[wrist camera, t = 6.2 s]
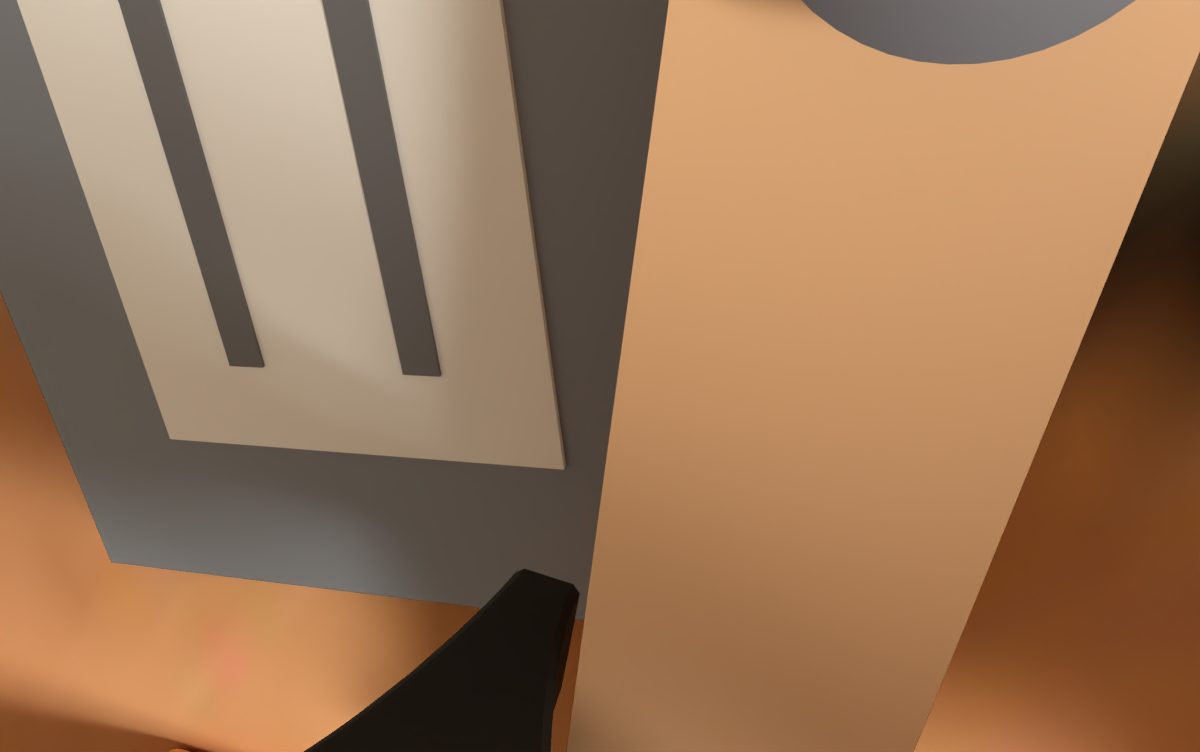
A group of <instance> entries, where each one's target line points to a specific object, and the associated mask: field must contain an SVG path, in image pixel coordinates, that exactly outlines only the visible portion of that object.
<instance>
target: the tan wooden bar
mask: <svg viewBox="0 0 1200 752" xmlns="http://www.w3.org/2000/svg"><path fill="white" fill-rule="evenodd" d="M1199 52H1200V0H669V4H668V12H667V19H666V26H665V34H664V41H663V48H662V56H661V63H660V70H659V77H658V85H657V92H656V99H655V107H654V114H653V121H652V129H651V136H650V143H649V151H648V158H647V165H646V173H645V180H644V187H643V195H642V202H641V209H640V217H639V224H638V231H637V239H636V246H635V253H634V260H633V268H632V275H631V282H630V290H629V297H628V304H627V312H626V319H625V326H624V334H623V341H622V348H621V356H620V363H619V370H618V378H617V385H616V392H615V400H614V407H613V414H612V421H611V429H610V436H609V443H608V451H607V458H606V465H605V473H604V480H603V487H602V495H601V502H600V509H599V517H598V524H597V531H596V539H595V546H594V553H593V561H592V568H591V575H590V583H589V590H588V597H587V604H586V612H585V619H584V626H583V634H582V641H581V648H580V656H579V663H578V670H577V678H576V685H575V692H574V700H573V707H572V714H571V722H570V729H569V736H568V744H567V751H566V752H914V750H915V747H916V745H917V742H918V740H919V737H920V735H921V732H922V730H923V728H924V725H925V723H926V720H927V718H928V715H929V713H930V710H931V708H932V706H933V703H934V701H935V698H936V696H937V693H938V691H939V688H940V686H941V683H942V681H943V679H944V676H945V674H946V671H947V669H948V666H949V664H950V661H951V659H952V657H953V654H954V652H955V649H956V647H957V644H958V642H959V639H960V637H961V635H962V632H963V630H964V627H965V625H966V622H967V620H968V617H969V615H970V613H971V610H972V608H973V605H974V603H975V600H976V598H977V595H978V593H979V591H980V588H981V586H982V583H983V581H984V578H985V576H986V573H987V571H988V568H989V566H990V564H991V561H992V559H993V556H994V554H995V551H996V549H997V546H998V544H999V542H1000V539H1001V537H1002V534H1003V532H1004V529H1005V527H1006V524H1007V522H1008V520H1009V517H1010V515H1011V512H1012V510H1013V507H1014V505H1015V502H1016V500H1017V498H1018V495H1019V493H1020V490H1021V488H1022V485H1023V483H1024V480H1025V478H1026V476H1027V473H1028V471H1029V468H1030V466H1031V463H1032V461H1033V458H1034V456H1035V453H1036V451H1037V449H1038V446H1039V444H1040V441H1041V439H1042V436H1043V434H1044V431H1045V429H1046V427H1047V424H1048V422H1049V419H1050V417H1051V414H1052V412H1053V409H1054V407H1055V405H1056V402H1057V400H1058V397H1059V395H1060V392H1061V390H1062V387H1063V385H1064V383H1065V380H1066V378H1067V375H1068V373H1069V370H1070V368H1071V365H1072V363H1073V361H1074V358H1075V356H1076V353H1077V351H1078V348H1079V346H1080V343H1081V341H1082V338H1083V336H1084V334H1085V331H1086V329H1087V326H1088V324H1089V321H1090V319H1091V316H1092V314H1093V312H1094V309H1095V307H1096V304H1097V302H1098V299H1099V297H1100V294H1101V292H1102V290H1103V287H1104V285H1105V282H1106V280H1107V277H1108V275H1109V272H1110V270H1111V268H1112V265H1113V263H1114V260H1115V258H1116V255H1117V253H1118V250H1119V248H1120V246H1121V243H1122V241H1123V238H1124V236H1125V233H1126V231H1127V228H1128V226H1129V223H1130V221H1131V219H1132V216H1133V214H1134V211H1135V209H1136V206H1137V204H1138V201H1139V199H1140V197H1141V194H1142V192H1143V189H1144V187H1145V184H1146V182H1147V179H1148V177H1149V175H1150V172H1151V170H1152V167H1153V165H1154V162H1155V160H1156V157H1157V155H1158V153H1159V150H1160V148H1161V145H1162V143H1163V140H1164V138H1165V135H1166V133H1167V130H1168V128H1169V126H1170V123H1171V121H1172V118H1173V116H1174V113H1175V111H1176V108H1177V106H1178V104H1179V101H1180V99H1181V96H1182V94H1183V91H1184V89H1185V86H1186V84H1187V82H1188V79H1189V77H1190V74H1191V72H1192V69H1193V67H1194V64H1195V62H1196V60H1197V57H1198V55H1199Z"/></svg>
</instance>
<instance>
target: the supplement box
mask: <svg viewBox="0 0 1200 752" xmlns="http://www.w3.org/2000/svg"><path fill="white" fill-rule="evenodd" d="M169 752H189V751H186V750H183V749H173V750H171V751H169Z"/></svg>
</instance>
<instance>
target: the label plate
mask: <svg viewBox="0 0 1200 752" xmlns="http://www.w3.org/2000/svg"><path fill="white" fill-rule="evenodd" d="M668 4H669V0H0V292H1V294H2V296H3V299H4V301H5V304H6V306H7V309H8V311H9V314H10V316H11V318H12V321H13V323H14V326H15V328H16V331H17V333H18V336H19V338H20V340H21V343H22V345H23V348H24V350H25V353H26V355H27V358H28V360H29V362H30V365H31V367H32V370H33V372H34V375H35V377H36V380H37V382H38V384H39V387H40V389H41V392H42V394H43V397H44V399H45V402H46V404H47V406H48V409H49V411H50V414H51V416H52V419H53V421H54V424H55V426H56V428H57V431H58V433H59V436H60V438H61V441H62V443H63V446H64V448H65V450H66V453H67V455H68V458H69V460H70V463H71V465H72V468H73V470H74V472H75V475H76V477H77V480H78V482H79V485H80V487H81V490H82V492H83V494H84V497H85V499H86V502H87V504H88V507H89V509H90V511H91V514H92V516H93V519H94V521H95V524H96V526H97V529H98V531H99V533H100V536H101V538H102V541H103V543H104V546H105V548H106V551H107V553H108V555H109V558H110V560H111V562H113V563H121V564H129V565H137V566H145V567H153V568H161V569H170V570H178V571H186V572H194V573H202V574H210V575H218V576H226V577H234V578H243V579H251V580H259V581H267V582H275V583H283V584H291V585H299V586H307V587H316V588H324V589H332V590H340V591H348V592H356V593H364V594H372V595H380V596H389V597H397V598H405V599H413V600H421V601H429V602H437V603H445V604H453V605H462V606H470V607H478V608H483V607H484V606H485V605H486V604H487V602H488V601H489V600H490V599H491V598H492V597H493V596H494V595H495V594H496V593H497V592H498V591H499V590H500V589H501V588H502V587H503V586H504V585H505V583H506V582H507V581H508V580H509V579H510V578H511V577H512V575H513V574H514V573H515V572H517V571H520V570H522V569H527V570H531V571H534V572H537V573H540V574H543V575H546V576H549V577H552V578H556V579H559V580H562V581H565V582H568V583H571V584H574V586H575V587H576V589H577V590H578V592H579V593H580V596H579V601H578V606H577V611H576V616H575V620H583V621H584V619H585V612H586V604H587V597H588V590H589V583H590V575H591V568H592V561H593V553H594V546H595V539H596V531H597V524H598V517H599V509H600V502H601V495H602V487H603V480H604V473H605V465H606V458H607V451H608V443H609V436H610V429H611V421H612V414H613V407H614V400H615V392H616V385H617V378H618V370H619V363H620V356H621V348H622V341H623V334H624V326H625V319H626V312H627V304H628V297H629V290H630V282H631V275H632V268H633V260H634V253H635V246H636V239H637V231H638V224H639V217H640V209H641V202H642V195H643V187H644V180H645V173H646V165H647V158H648V151H649V143H650V136H651V129H652V121H653V114H654V107H655V99H656V92H657V85H658V77H659V70H660V63H661V56H662V48H663V41H664V34H665V26H666V19H667V12H668Z"/></svg>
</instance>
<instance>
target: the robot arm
mask: <svg viewBox="0 0 1200 752" xmlns="http://www.w3.org/2000/svg"><path fill="white" fill-rule="evenodd" d="M579 596H580V593H579V592H578V590H577V589H576V587H575V586H574V584H571V583H568V582H565V581H562V580H559V579H556V578H552V577H549V576H546V575H543V574H540V573H537V572H534V571H531V570H527V569H522V570H520V571H517V572H515V573H514V574H513V575H512V577H511V578H510V579H509V580H508V581H507V582H506V583H505V585H504V586H503V587H502V588H501V589H500V590H499V591H498V592H497V593H496V594H495V595H494V596H493V597H492V598H491V599H490V600H489V601H488V602H487V604H486V605H485V606H484V607H483V608H482V609H481V610H480V611H478V612H477V613H476V614H475V615H474V616H473V617H472V618H471V619H470V620H469V621H468V622H467V623H466V624H465V625H464V626H463V627H462V628H461V629H460V630H459V631H458V632H457V633H455V634H454V635H453V636H452V637H451V638H450V639H449V640H448V641H446V642H445V643H444V644H443V645H442V646H441V647H440V648H439V649H437V650H436V651H435V652H434V653H433V654H432V655H431V656H429V657H428V658H427V659H426V660H425V661H424V662H423V663H422V664H420V665H419V666H418V667H417V668H416V669H415V670H413V671H412V672H411V673H410V674H409V675H407V676H406V677H405V678H404V679H402V680H401V681H400V682H399V683H397V684H396V685H395V686H393V687H392V688H391V689H390V690H388V691H387V692H386V693H385V694H383V695H382V696H381V697H379V698H378V699H377V700H376V701H374V702H373V703H372V704H370V705H369V706H368V707H367V708H365V709H364V710H363V711H361V712H360V713H359V714H357V715H356V716H355V717H353V718H352V719H351V720H349V721H348V722H346V723H345V724H344V725H342V726H341V727H339V728H338V729H337V730H335V731H334V732H332V733H331V734H329V735H328V736H327V737H325V738H324V739H322V740H321V741H319V742H318V743H316V744H315V745H313V746H312V747H310V748H309V749H307V750H306V751H304V752H551V733H552V719H553V711H554V708H555V705H556V702H557V699H558V696H559V693H560V690H561V686H562V681H563V676H564V671H565V666H566V661H567V656H568V651H569V646H570V641H571V636H572V631H573V626H574V621H575V616H576V611H577V606H578V601H579Z"/></svg>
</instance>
